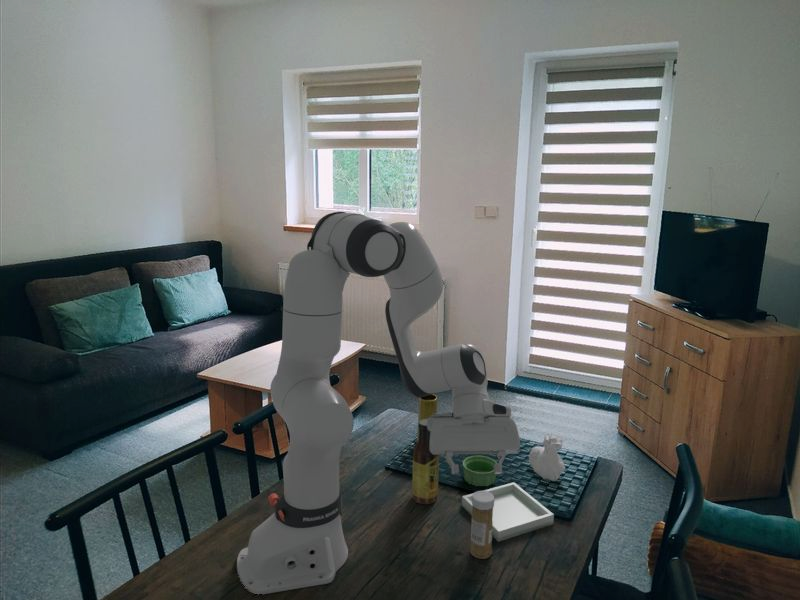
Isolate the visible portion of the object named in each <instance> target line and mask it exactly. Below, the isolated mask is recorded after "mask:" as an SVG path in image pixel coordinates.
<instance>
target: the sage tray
mask: <svg viewBox="0 0 800 600" xmlns="http://www.w3.org/2000/svg"><path fill="white" fill-rule="evenodd" d="M483 491H487V492H490V493H491V494H493V496H494V507H493V518H492V521H493V525H492V538H494V539H495V540H496V541H497V542H502V541H505V540H508V539H511V538H514V537H517V536H520V535H524V534H527V533H530V532H533V531H537V530H539V529H542V528H545V527H549V526H552V525H554V518H555V514H554V513H553V512H551V511H550V510H549V509H548V508H547V507H545V506H544V505H543V504H542V503H540V502H539V501H538V500H537V499H535V497H534V496H532V495H530V493H528V492H526V490H524V489H523V488H522V487H521V486H520V485H518V484H517V483H516V482H514V481H513V482H509V483H507V484H503V485H499V486H495V487H492V488H489V489H488V488H487V489H484V490H483ZM472 495H473V493H470V494H465V495H462V496H461V506H462V507H463V508H464V509H465V510H466V511H467V512H468V513H469V515H471V516H472V508H473V505H472Z"/></svg>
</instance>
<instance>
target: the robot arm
mask: <svg viewBox="0 0 800 600" xmlns="http://www.w3.org/2000/svg"><path fill="white" fill-rule="evenodd" d="M316 222H317V223H316V224H315V226H314V228H313V229H312V233H311V237H310V239H309V241H308V243H307V245H306V250H303V251H300V252H298V253H297V254H295V255H294V256H292V257H291V259H290V261H289V264H288V269H287V272H286V277H285V278H286V279H285V283H284V290H283V305H282V330H281V331H282V333H281V334H282V337H281V352H280V356H279V361H278V365H277V368H276V369H277V370H276V374H275V375H274V377H273V379H272V380H271V382H270V383H271V384H270V388H269V389H270V390H269V392H270V396H271V401H272V404H273V406H274V409H275V410H276V412H277V413H278V415H279V416H280V417H281V419H283V421H284V422H285V423H286V426H287V431H288V433H289V445H288V452H287V453H286V455H285V456H284V458H283V461H282V469H283V471H282V473H283V494H282V496H281V497H280V498H279V497H278V494H277V493H274V492H273V493H270V495H269V496H268V497H267V501H268V503H269V504H270V506H271V507H274V513H272V514H271V515H270V516H269V517H268V518H267V519H265V520H264V521H263V522H262V523H260V524H259V525H258V526H256V528H254V529H253V530H252V531H251V534H250V536H249V539H248V545H247V546H246V547H245V548H242V549H241V550H240V551H239V553H238V556H237V558H236V572H237V576H238V575H239V576H238V578H240V579H239V581H240V583H241V582H242V583H241V584H243V585H244V586H245V587H244V586H243V585H242V586H243V587H244V589H245V590H246V589H248V590H249V591H250V592H252V593H254V594H258V595H257V596H260V595H259V594H262V595H266V594H272V593H278V592H279V593H280V592H285V591H290V590H291V591H292V590H296V589H302V588H303V589H304V588H308V587H309V588H310V587H315V586H320V585H327V584H330V583H332V582H333V581H334V579H335V576H336V573H337V571H339V569H340V568H342V566H343V565H344V564H346V561H347V559H348V556H349V548H348V546H347V543H346V539H345V536H344V532H343V527H342V526H343V524H342V515H343V514H342V513H343V511H342V510H343V497H342V490H340V456H341V451H342V448H343V445H344V444H345V443H347V441H348V440H349V439H350V437H351V435H352V433H353V429H354V426H355V425H354V424H355V423H354V422H355V421H354V416H353V412H352V410H351V408H350V407H349V405H348V403H347V401H346V400H345V398H344V397H343V395H341V394H340V393H339V392H338V391H337V390H336V389H335V388H334V387H332V386H331V381H330V370H331V368H332V363H333V361H334V359H335V357H336V356H338V354H339V352H340V351H341V346H342V345H341V344H342V326H343V325H342V324H343V323H342V322H343V292H344V287H345V286H346V285H345V284H346V281H347V280H348V278H349V277H350V275H351V274H355V275H359V276H361V277H365V278H366V277H367V278H377V277H382V276H383V279H384V280H385V282H386V284H387V286H388V287H387V288H388V289H389V294H390V296H389V297H390V298H389V299H388V300H387V301H386V303H385V311H384V312H385V319H386V320H385V321H386V324H387V329H388V332H389V335H390V339H391V343H392V345H393V349H394V353H395V356H396V359H397V363H398V365H399V371H400V379H401V382H402V385H403V388H404V389H405V391H407V392H408V393H409V394H410V395H412V396H414V397H416V398H418V399H419V398H421V397H424V396H427V395H431V394H437V393H441V392H445V391H446V392H447V391H451V390H452V396H451V410H452V411H451V412H444V413H439V412H437V413H434V414H433V415H431V416H429V417H428V419H427V428H428V430H429V431H430V440H429V451H430V452H431V453H432V454H433V455H439V456H440V455H444V457H445V460H446V462H447V463H448V465H449V467H450V471H451V475H459V474H460V469H459V467H460V466H459V464H458V463H457V464H456V463H455V462H454V461H453V459H452V458H453V457H454V455H496V456H497V459H498V460H499V461H498V462H497V464H495V465H494V474H496V475H497V474H498V475H499V474H502V473H503V467H502V464H503V462H504V460H505V458H506V455H508V454H510V455H516V453H517V452H518V451H519V450H520V449H521V438H520V433H519V430H518V427H517V424H516V422H515V420H514V418H512V417H511V416H512V409H511V407H509V406H508V405H504V404H502V403H501V404H500V403H498V402H494V401H491V400H490V396H489V394H488V389H487V388H488V382H489V381H488V374H487V373H488V372H487V367H486V362H485V360H484V355H483V353H482V350H481V349H480V348H479V347H478V346H477V345H474V344H471V343H458V344H457V343H456V344H453V345H449V346H445V347H440V348H437V349H432V350H428V351H420V350H417V348H416V344H415V340H414V337H413V334H412V330H411V325H412V324H413V323H414V322H415V321H416V320H418V319H419V318H421V317H422V316H424V315H425V314H427V313H428V312H429V311H431V309H433V308H434V307H435V306H436V304H437V303H438V301H439V300H440V298H441V296H442V293H443V289H444V280H443V276H442V272H441V271H440V268H439V266H438V264H437V261H436V259H435V257H434V255H433V253H432V251H431V249H430V247H429V245H428V244H427V242H426V240H425V238H424V237H423V235H421V232H420V231H418V229H417V228H416V226H414V225H413V224H411V223H409V222H405V221H397V222H393V223H390V224H388V223H386V222H384V221H383V220H379V219H375V218H374V219H373V218H371V217H368V216H366V215H364V214H360V213H353V212H345V211H335V212H331V213H327V214H326V215H324V216H322V217H321V218H320V219H319V220H318V221H316ZM431 417H433V418H431ZM248 590H247V591H248ZM249 591H248V592H249ZM250 592H249V593H250ZM252 593H251V594H252ZM254 594H253V595H254Z"/></svg>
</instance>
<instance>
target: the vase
mask: <svg viewBox="0 0 800 600" xmlns="http://www.w3.org/2000/svg"><path fill="white" fill-rule="evenodd" d="M434 413H438V396H437V395H436V394H435V393H433V394H431V395H427V396H424V397H421V398H418V414H417V415H418V416H417V417H418V418H417V424H418V423H419V421H420V420H423V419H428V417H429V416H431V415H433V414H434ZM431 418H433V417H431ZM416 432H417V433H416V435H417V436H416V443H417V442H418V440H419V438H418V437H419V427H418V426H417V431H416Z"/></svg>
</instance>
